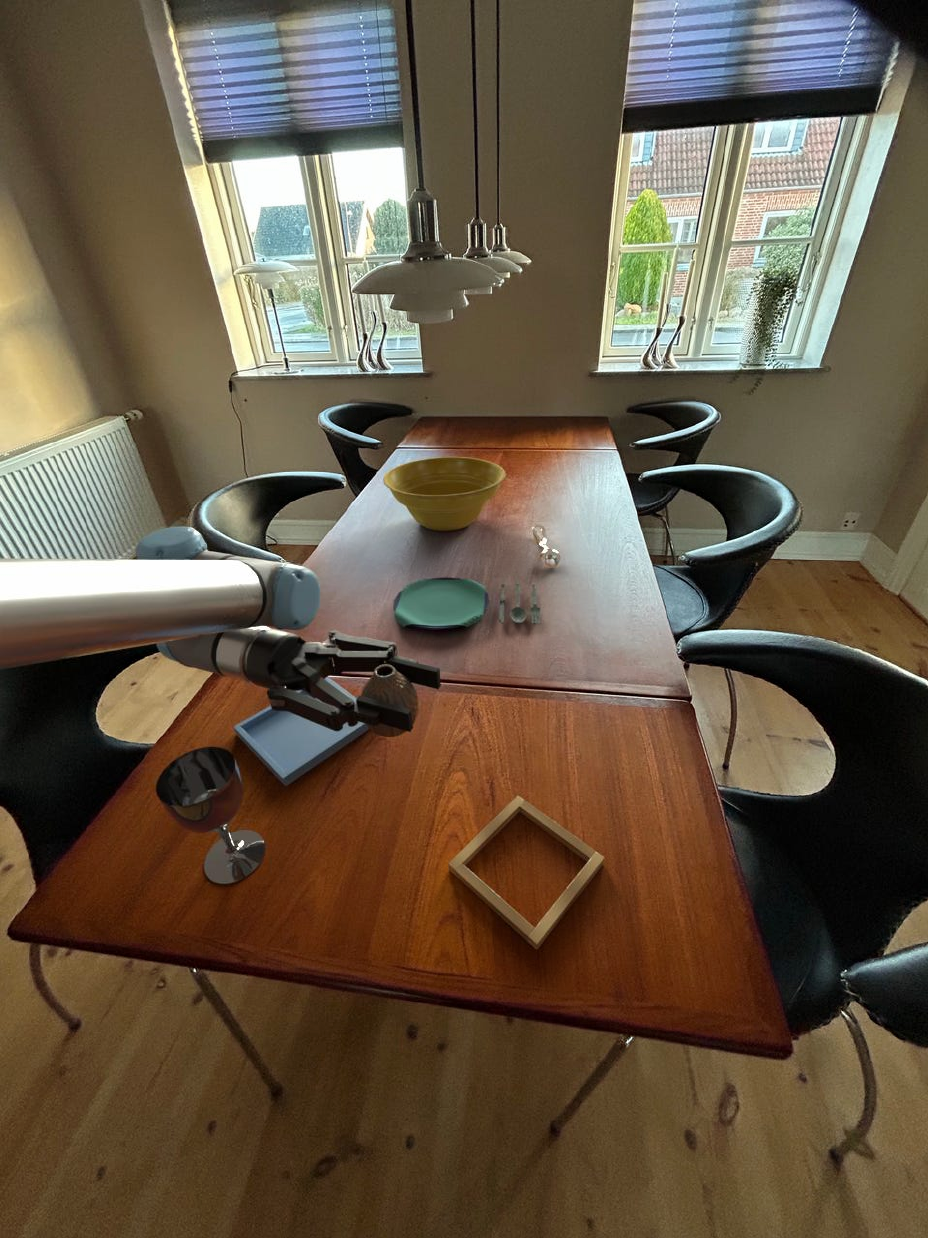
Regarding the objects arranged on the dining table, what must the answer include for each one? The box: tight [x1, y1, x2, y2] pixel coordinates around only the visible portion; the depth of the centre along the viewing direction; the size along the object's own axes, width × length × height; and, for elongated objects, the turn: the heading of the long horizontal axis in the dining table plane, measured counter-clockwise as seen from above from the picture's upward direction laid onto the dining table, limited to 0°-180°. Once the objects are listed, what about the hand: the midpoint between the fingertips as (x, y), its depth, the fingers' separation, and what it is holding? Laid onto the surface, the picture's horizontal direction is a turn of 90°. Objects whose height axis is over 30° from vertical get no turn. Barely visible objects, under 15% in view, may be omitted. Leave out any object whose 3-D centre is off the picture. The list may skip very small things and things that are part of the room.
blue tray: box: [232, 676, 370, 787], centre depth 82 cm, size 17×15×2 cm
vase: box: [360, 665, 419, 738], centre depth 63 cm, size 7×7×9 cm
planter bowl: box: [382, 456, 506, 532], centre depth 143 cm, size 32×32×13 cm
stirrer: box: [531, 524, 562, 568], centre depth 130 cm, size 20×4×5 cm
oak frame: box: [447, 795, 605, 950], centre depth 62 cm, size 13×13×1 cm
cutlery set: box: [393, 576, 541, 631], centre depth 109 cm, size 20×30×2 cm, turn 86°
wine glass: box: [155, 746, 266, 885], centre depth 61 cm, size 8×8×15 cm
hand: (425, 698), depth 61 cm, fingers closed on vase, 7 cm apart
